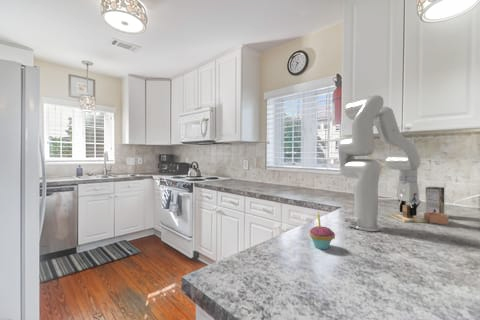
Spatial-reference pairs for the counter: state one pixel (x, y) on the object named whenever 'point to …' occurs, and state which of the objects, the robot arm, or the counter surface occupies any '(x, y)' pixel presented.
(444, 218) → the bowl
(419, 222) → the mat
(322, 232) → the cupcake
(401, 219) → the lid
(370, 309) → the counter surface
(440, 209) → the coffee box
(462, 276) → the counter surface
